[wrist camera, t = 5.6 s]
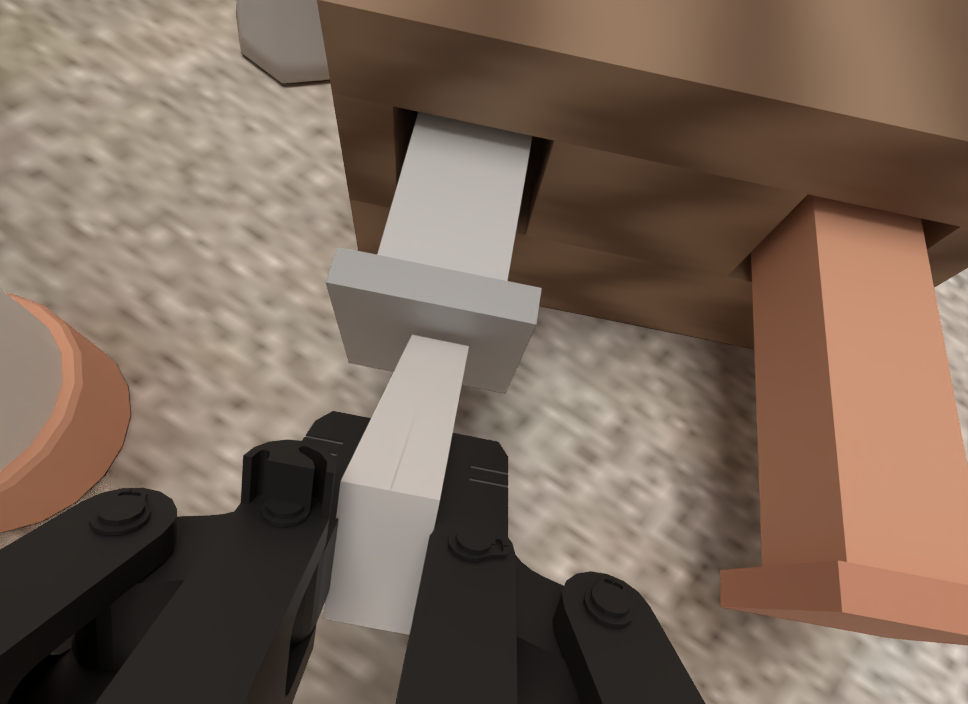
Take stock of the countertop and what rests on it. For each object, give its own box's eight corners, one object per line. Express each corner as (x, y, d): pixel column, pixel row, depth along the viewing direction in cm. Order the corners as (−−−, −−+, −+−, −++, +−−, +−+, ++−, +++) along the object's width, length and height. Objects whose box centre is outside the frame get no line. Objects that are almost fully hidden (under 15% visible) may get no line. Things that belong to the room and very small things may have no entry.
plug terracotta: (720, 606, 16) (842, 612, 11) (717, 212, 22) (798, 110, 17) (888, 638, 16) (1074, 654, 12) (842, 238, 22) (955, 144, 17)
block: (361, 269, 24) (316, -1, 13) (411, 101, 28) (409, -213, 17) (811, 360, 25) (1123, 175, 14) (796, 183, 29) (1030, -69, 18)
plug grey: (348, 362, 18) (325, 282, 13) (437, 55, 23) (442, -76, 19) (505, 393, 18) (536, 324, 13) (554, 81, 24) (588, -43, 19)
